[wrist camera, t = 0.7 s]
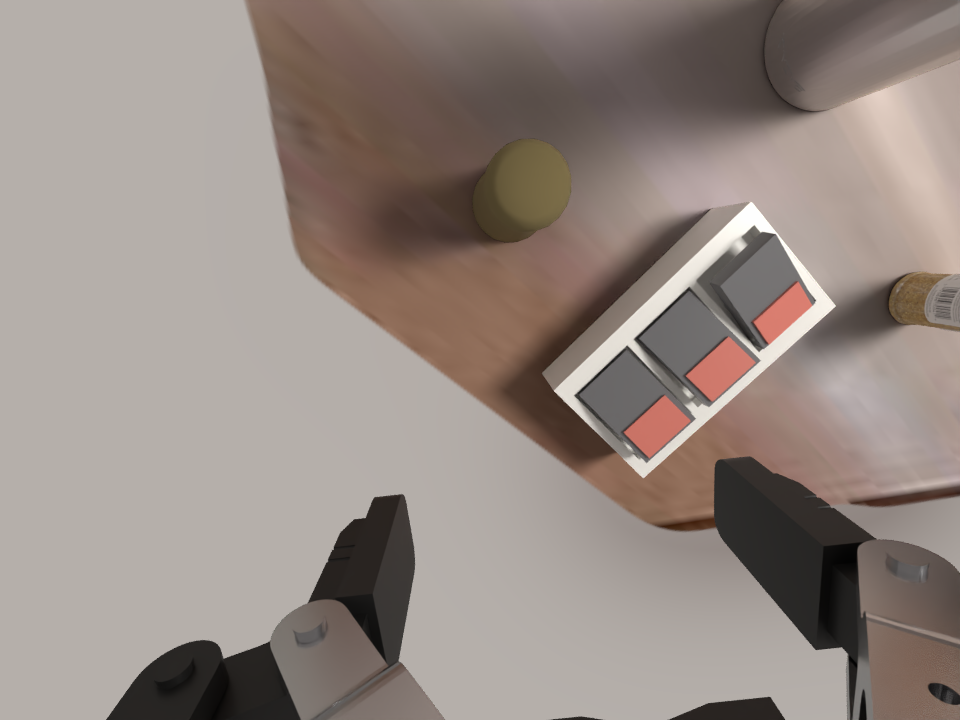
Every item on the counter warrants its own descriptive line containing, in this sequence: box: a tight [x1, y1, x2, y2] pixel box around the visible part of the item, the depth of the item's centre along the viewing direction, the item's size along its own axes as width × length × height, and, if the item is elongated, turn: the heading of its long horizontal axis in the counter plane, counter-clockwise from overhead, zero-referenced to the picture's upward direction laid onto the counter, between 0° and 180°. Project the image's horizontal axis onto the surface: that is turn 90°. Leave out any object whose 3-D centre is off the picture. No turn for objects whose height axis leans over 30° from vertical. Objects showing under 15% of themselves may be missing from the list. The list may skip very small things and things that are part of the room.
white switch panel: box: [542, 202, 836, 478], centre depth 37 cm, size 19×10×5 cm, turn 135°
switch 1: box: [578, 349, 696, 463], centre depth 34 cm, size 5×7×1 cm
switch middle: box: [636, 291, 761, 407], centre depth 34 cm, size 5×7×1 cm
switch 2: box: [709, 232, 815, 349], centre depth 33 cm, size 5×7×1 cm
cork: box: [472, 139, 571, 242], centre depth 31 cm, size 6×6×11 cm
